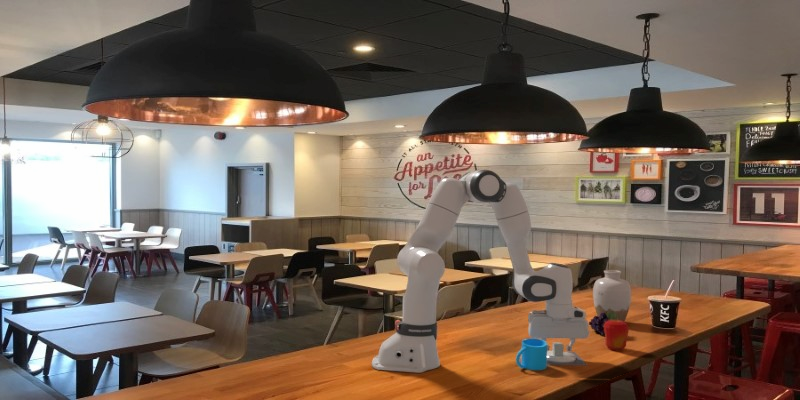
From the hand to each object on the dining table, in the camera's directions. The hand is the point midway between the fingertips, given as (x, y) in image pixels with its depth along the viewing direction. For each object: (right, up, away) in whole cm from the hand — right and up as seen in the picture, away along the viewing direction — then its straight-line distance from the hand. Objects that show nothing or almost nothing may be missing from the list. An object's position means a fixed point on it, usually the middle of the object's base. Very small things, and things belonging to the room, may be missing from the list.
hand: (557, 350), depth 211 cm
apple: (+25, -3, +15) cm, 29 cm away
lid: (0, -3, 0) cm, 2 cm away
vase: (+38, -2, +58) cm, 69 cm away
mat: (0, -3, 0) cm, 3 cm away
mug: (-12, -3, -11) cm, 16 cm away
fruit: (+29, -3, +37) cm, 47 cm away
